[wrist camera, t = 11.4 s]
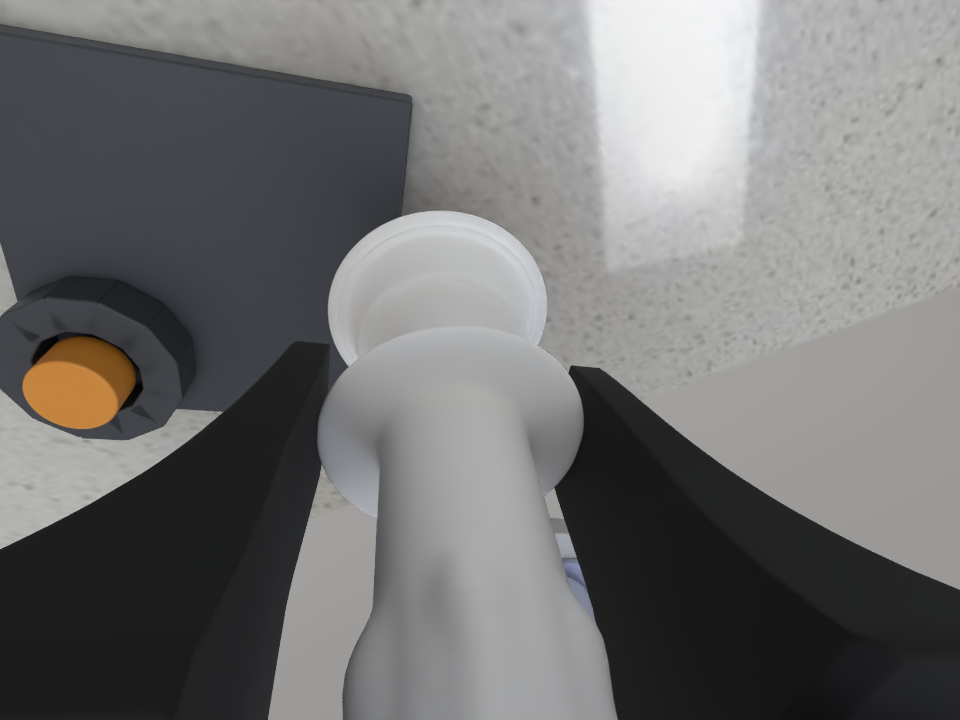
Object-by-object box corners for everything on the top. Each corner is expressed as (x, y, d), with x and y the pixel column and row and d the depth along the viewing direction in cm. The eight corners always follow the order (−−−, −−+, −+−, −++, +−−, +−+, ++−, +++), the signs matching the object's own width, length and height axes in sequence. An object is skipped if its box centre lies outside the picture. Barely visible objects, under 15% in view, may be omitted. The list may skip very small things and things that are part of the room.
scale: (381, 405, 24) (378, 453, 21) (59, 384, 21) (14, 435, 19) (412, 95, 17) (413, 111, 15) (-41, 16, 15) (-129, 20, 13)
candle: (318, 386, 15) (134, 1234, 5) (342, 184, 12) (26, 1180, 2) (512, 411, 16) (701, 1126, 6) (574, 234, 13) (1130, 997, 3)
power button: (142, 403, 19) (123, 432, 18) (57, 398, 19) (32, 427, 18) (130, 339, 18) (109, 365, 17) (39, 331, 17) (10, 358, 16)
